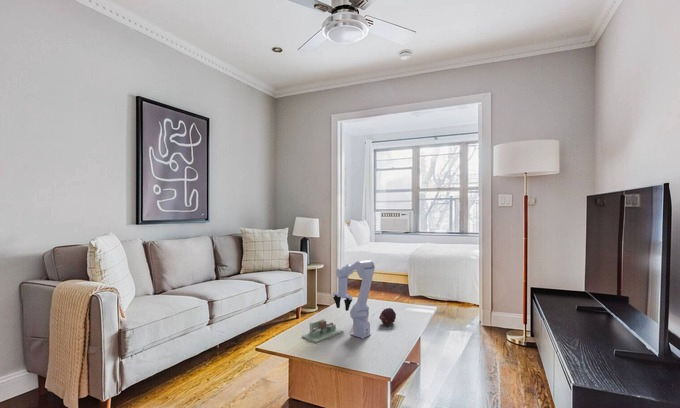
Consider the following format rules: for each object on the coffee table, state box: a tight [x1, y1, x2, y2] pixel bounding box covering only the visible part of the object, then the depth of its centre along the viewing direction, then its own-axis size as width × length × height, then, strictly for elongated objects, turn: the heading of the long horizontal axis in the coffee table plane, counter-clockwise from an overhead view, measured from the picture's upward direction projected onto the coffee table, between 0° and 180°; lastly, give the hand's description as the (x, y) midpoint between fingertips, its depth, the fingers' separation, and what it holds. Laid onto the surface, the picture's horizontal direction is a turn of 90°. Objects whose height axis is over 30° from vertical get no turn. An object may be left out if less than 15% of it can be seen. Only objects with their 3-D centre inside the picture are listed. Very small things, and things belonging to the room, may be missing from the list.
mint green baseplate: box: [301, 318, 344, 344], centre depth 205 cm, size 12×22×7 cm, turn 137°
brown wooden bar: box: [312, 319, 334, 332], centre depth 205 cm, size 4×16×4 cm, turn 137°
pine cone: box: [379, 307, 397, 326], centre depth 224 cm, size 18×10×10 cm, turn 153°
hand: (342, 309), depth 222 cm, fingers open, 7 cm apart
